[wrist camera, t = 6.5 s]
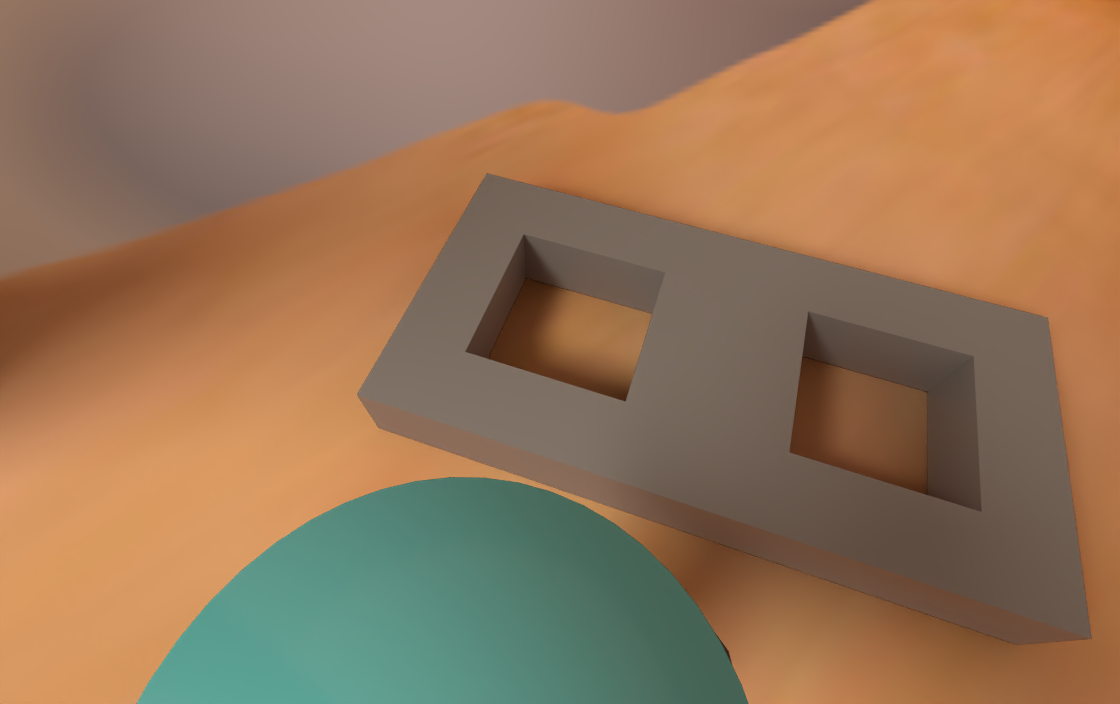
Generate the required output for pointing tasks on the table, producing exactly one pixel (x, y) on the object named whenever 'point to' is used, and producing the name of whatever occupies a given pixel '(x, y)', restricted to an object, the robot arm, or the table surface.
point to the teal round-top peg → (451, 611)
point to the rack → (754, 406)
